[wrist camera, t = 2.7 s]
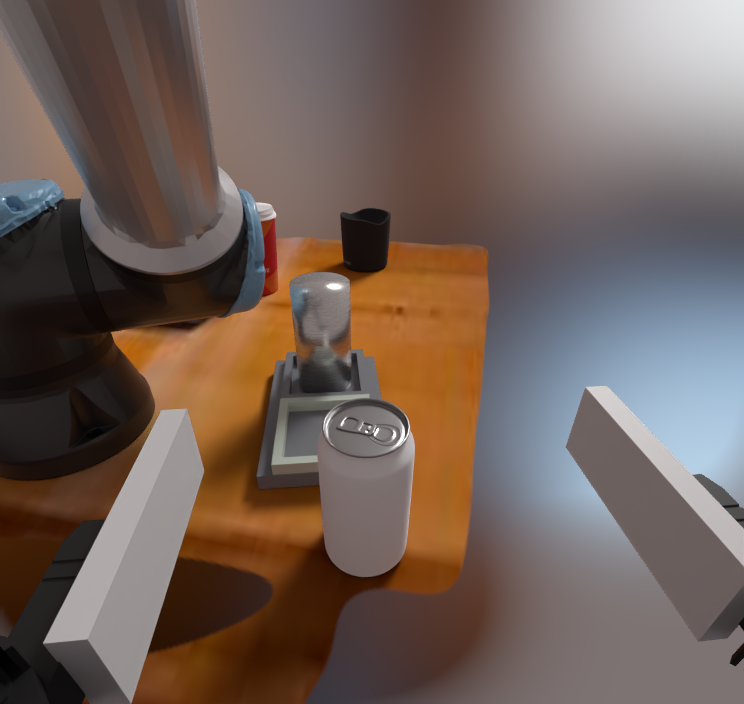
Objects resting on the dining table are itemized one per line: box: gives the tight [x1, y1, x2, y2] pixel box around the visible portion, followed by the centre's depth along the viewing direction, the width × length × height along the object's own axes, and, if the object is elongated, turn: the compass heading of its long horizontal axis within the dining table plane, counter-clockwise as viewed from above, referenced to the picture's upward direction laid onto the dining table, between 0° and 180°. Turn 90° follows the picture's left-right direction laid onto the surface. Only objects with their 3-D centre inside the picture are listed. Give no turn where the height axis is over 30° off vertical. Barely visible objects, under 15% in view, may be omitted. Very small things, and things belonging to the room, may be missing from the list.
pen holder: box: [341, 208, 391, 272], centre depth 83 cm, size 9×9×10 cm
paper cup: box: [256, 203, 278, 296], centre depth 71 cm, size 8×8×14 cm
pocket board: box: [256, 349, 382, 489], centre depth 45 cm, size 12×18×3 cm, turn 5°
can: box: [317, 398, 415, 577], centre depth 30 cm, size 6×6×12 cm
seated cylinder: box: [289, 272, 352, 394], centre depth 46 cm, size 6×6×12 cm
